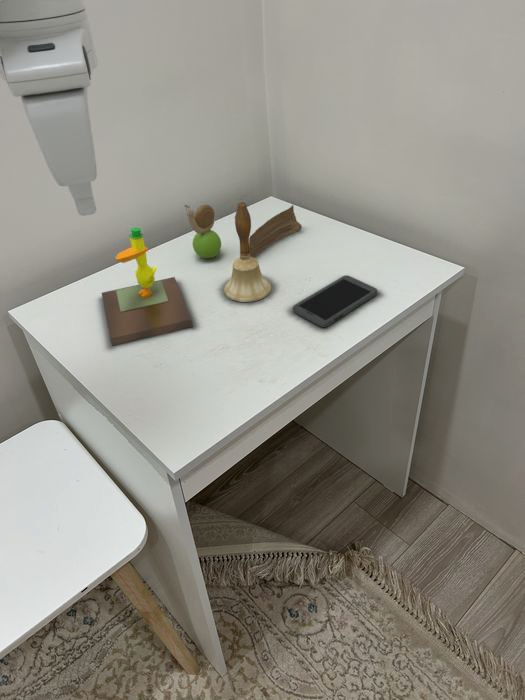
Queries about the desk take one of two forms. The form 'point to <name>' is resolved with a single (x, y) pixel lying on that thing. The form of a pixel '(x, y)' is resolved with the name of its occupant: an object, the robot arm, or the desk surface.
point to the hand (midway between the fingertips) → (84, 194)
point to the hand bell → (246, 265)
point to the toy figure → (139, 262)
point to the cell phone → (334, 301)
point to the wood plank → (273, 231)
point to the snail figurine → (204, 231)
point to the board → (145, 311)
